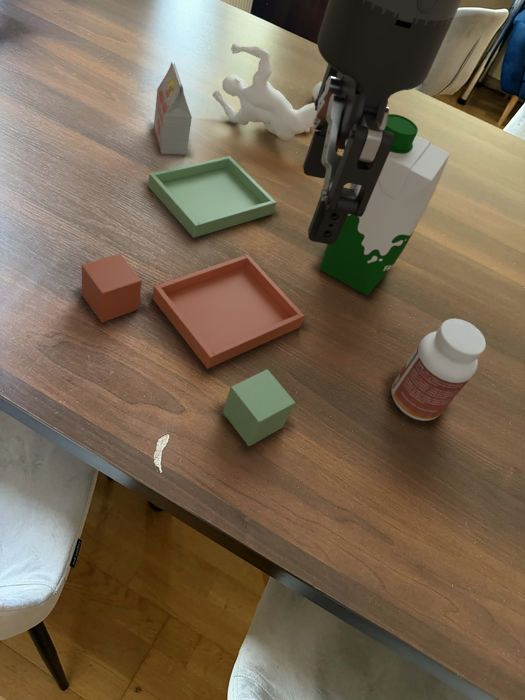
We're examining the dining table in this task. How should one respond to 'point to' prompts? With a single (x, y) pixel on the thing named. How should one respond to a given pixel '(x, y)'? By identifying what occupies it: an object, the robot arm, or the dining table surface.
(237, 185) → the sage tray
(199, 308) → the terracotta tray
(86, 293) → the terracotta block
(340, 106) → the robot arm
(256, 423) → the sage block
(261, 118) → the person figurine
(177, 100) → the small milk carton
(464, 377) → the pill bottle
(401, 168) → the soya milk
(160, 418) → the dining table surface
